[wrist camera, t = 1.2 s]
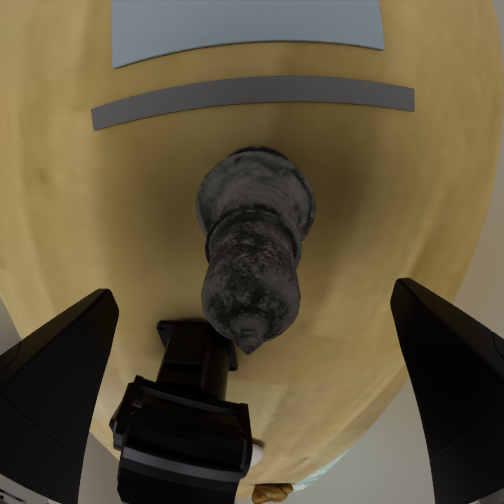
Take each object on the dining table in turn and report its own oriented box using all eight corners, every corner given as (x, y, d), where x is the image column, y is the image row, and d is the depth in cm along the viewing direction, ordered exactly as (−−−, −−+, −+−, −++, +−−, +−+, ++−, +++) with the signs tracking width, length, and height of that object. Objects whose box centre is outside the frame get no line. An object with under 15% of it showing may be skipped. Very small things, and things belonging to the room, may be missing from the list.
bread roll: (293, 481, 60) (294, 503, 53) (291, 485, 65) (292, 505, 58) (251, 482, 60) (250, 504, 53) (253, 486, 65) (252, 506, 58)
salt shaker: (313, 150, 15) (417, 264, 5) (294, 238, 18) (324, 411, 8) (213, 135, 15) (107, 219, 4) (204, 225, 18) (143, 391, 7)
